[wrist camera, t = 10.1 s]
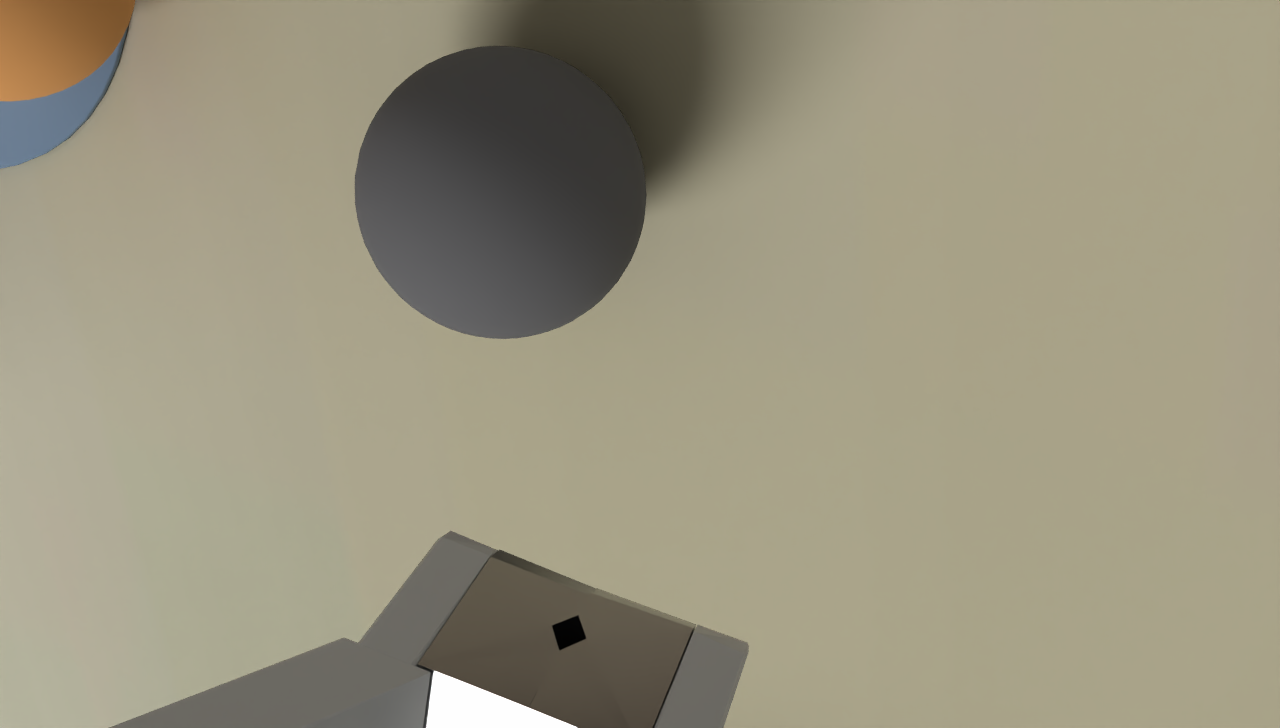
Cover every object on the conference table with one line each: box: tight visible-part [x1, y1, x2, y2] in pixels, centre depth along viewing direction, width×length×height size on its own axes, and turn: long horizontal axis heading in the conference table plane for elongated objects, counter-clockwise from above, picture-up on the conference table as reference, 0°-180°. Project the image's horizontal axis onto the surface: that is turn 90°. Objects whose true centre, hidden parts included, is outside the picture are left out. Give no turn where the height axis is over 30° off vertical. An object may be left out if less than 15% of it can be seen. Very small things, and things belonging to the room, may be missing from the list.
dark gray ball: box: [355, 46, 646, 339], centre depth 22 cm, size 6×6×6 cm
